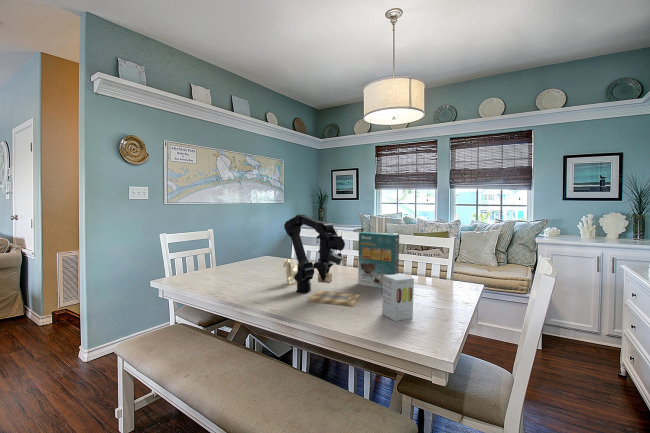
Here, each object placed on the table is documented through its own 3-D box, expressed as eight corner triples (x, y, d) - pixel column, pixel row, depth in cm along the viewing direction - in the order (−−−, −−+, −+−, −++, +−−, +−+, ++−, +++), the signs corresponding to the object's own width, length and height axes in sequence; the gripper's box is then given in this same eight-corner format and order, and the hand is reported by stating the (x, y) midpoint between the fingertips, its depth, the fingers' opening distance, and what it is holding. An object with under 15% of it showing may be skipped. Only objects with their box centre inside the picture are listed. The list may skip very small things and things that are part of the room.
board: (308, 301, 148) (308, 298, 148) (317, 292, 161) (317, 290, 161) (353, 306, 141) (353, 303, 141) (359, 297, 155) (359, 294, 155)
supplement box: (394, 321, 123) (395, 280, 123) (381, 313, 132) (382, 275, 131) (413, 318, 127) (414, 278, 126) (399, 310, 136) (400, 273, 135)
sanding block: (317, 282, 151) (317, 274, 151) (320, 280, 155) (320, 272, 155) (329, 283, 149) (329, 275, 149) (331, 281, 153) (331, 273, 153)
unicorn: (298, 279, 187) (298, 251, 186) (303, 280, 185) (304, 252, 185) (280, 288, 169) (280, 257, 168) (286, 289, 167) (286, 257, 166)
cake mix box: (398, 287, 172) (399, 234, 171) (394, 290, 167) (395, 235, 166) (362, 281, 184) (363, 231, 183) (358, 284, 179) (358, 232, 178)
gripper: (336, 252, 140) (335, 286, 141) (345, 246, 158) (345, 276, 159) (313, 250, 143) (312, 283, 144) (324, 245, 161) (324, 274, 162)
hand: (324, 279), depth 152 cm, fingers closed on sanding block, 4 cm apart
